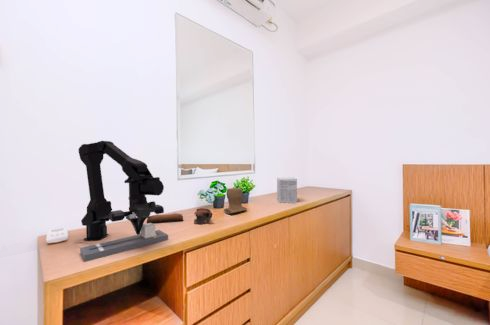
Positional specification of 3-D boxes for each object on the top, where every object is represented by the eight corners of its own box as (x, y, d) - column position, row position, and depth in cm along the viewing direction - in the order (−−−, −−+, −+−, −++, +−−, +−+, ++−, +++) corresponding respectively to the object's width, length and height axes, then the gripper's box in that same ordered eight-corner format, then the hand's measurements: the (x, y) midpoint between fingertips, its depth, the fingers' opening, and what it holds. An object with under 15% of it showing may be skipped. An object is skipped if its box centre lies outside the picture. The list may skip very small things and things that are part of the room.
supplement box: (297, 202, 164) (297, 178, 164) (279, 203, 164) (279, 179, 164) (293, 199, 177) (293, 177, 177) (277, 199, 177) (276, 177, 177)
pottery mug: (188, 224, 115) (191, 208, 119) (202, 228, 121) (204, 213, 125) (205, 221, 108) (207, 205, 112) (218, 226, 115) (220, 210, 119)
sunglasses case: (183, 217, 127) (183, 208, 123) (183, 226, 121) (183, 217, 118) (149, 219, 122) (148, 210, 119) (147, 229, 117) (146, 220, 113)
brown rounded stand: (236, 208, 148) (235, 185, 147) (249, 211, 140) (249, 187, 139) (218, 212, 136) (218, 188, 136) (232, 216, 128) (231, 189, 128)
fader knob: (145, 238, 87) (145, 227, 87) (139, 234, 91) (139, 224, 91) (156, 235, 90) (156, 225, 90) (150, 232, 94) (150, 222, 94)
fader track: (84, 261, 72) (84, 255, 72) (80, 253, 79) (80, 247, 79) (168, 239, 92) (168, 234, 92) (159, 234, 98) (159, 229, 98)
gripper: (115, 200, 75) (116, 246, 76) (169, 193, 88) (169, 233, 88) (108, 196, 84) (108, 238, 84) (158, 191, 96) (158, 227, 96)
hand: (138, 234), depth 88 cm, fingers closed
